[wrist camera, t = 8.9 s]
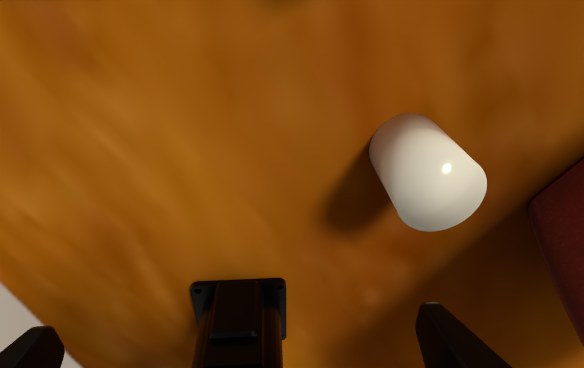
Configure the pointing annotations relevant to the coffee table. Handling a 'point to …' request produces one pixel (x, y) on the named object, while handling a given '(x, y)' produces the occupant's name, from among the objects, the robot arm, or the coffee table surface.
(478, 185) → the ivory rounded cylinder
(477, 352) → the robot arm
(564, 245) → the plant pot
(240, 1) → the coffee table surface
